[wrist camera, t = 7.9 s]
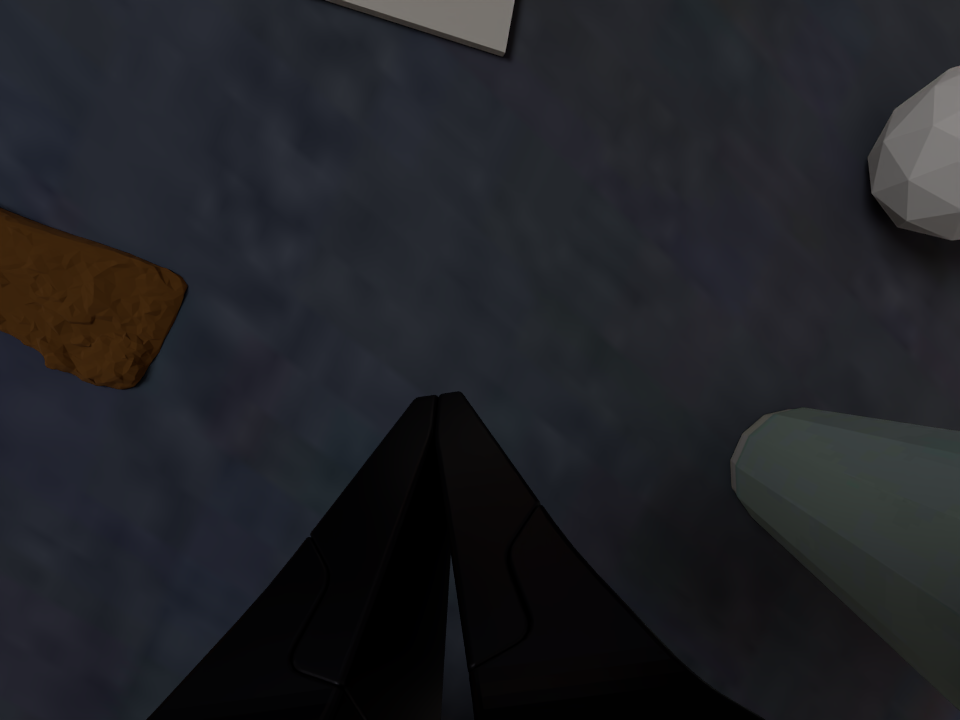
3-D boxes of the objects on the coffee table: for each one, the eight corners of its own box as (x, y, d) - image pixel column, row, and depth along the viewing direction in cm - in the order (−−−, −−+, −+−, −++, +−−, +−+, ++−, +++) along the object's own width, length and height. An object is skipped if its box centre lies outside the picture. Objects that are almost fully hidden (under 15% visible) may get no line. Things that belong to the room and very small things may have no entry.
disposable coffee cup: (866, 496, 29) (1363, 717, 14) (718, 583, 27) (1099, 924, 13) (827, 339, 26) (1382, 414, 12) (662, 427, 25) (1059, 632, 10)
